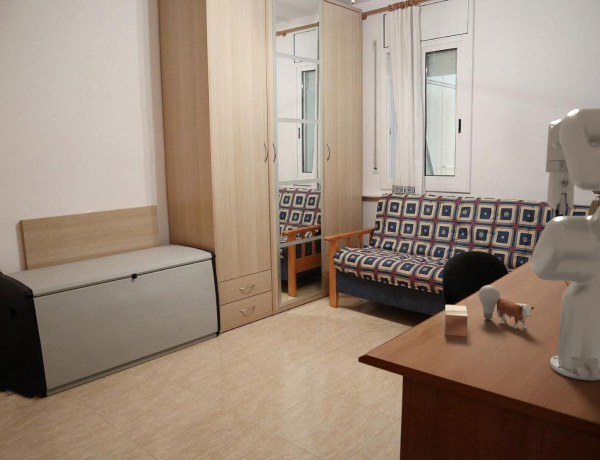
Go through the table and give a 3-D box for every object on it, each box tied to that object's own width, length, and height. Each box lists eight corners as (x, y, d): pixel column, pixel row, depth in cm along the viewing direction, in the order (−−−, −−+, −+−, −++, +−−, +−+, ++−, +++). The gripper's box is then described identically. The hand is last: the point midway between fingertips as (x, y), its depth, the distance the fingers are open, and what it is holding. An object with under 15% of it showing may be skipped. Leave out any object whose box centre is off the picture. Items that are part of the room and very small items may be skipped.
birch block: (467, 316, 144) (466, 306, 152) (445, 314, 145) (445, 304, 154) (466, 336, 145) (465, 325, 153) (444, 334, 146) (444, 323, 155)
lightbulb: (486, 324, 153) (487, 289, 152) (473, 317, 159) (474, 283, 157) (502, 321, 155) (504, 287, 153) (489, 315, 161) (491, 281, 159)
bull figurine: (525, 335, 145) (527, 307, 143) (492, 320, 157) (493, 294, 156) (537, 333, 146) (539, 305, 145) (503, 318, 159) (505, 292, 157)
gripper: (584, 168, 130) (578, 238, 133) (569, 165, 144) (564, 228, 147) (551, 168, 132) (547, 237, 135) (540, 165, 146) (536, 228, 149)
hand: (556, 233), depth 141 cm, fingers closed
